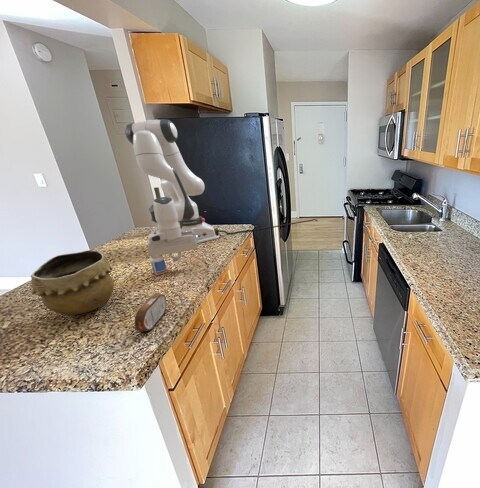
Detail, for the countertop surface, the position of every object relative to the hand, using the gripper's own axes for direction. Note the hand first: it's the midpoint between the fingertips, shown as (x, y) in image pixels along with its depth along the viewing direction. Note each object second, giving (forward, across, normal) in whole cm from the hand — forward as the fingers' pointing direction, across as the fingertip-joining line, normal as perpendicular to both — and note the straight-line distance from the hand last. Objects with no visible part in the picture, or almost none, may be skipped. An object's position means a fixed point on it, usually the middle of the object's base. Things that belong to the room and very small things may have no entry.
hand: (176, 260), depth 124 cm
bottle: (+4, +1, -66) cm, 66 cm away
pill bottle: (+4, +7, 0) cm, 9 cm away
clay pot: (+5, +31, +19) cm, 37 cm away
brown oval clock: (+5, +11, +41) cm, 42 cm away
